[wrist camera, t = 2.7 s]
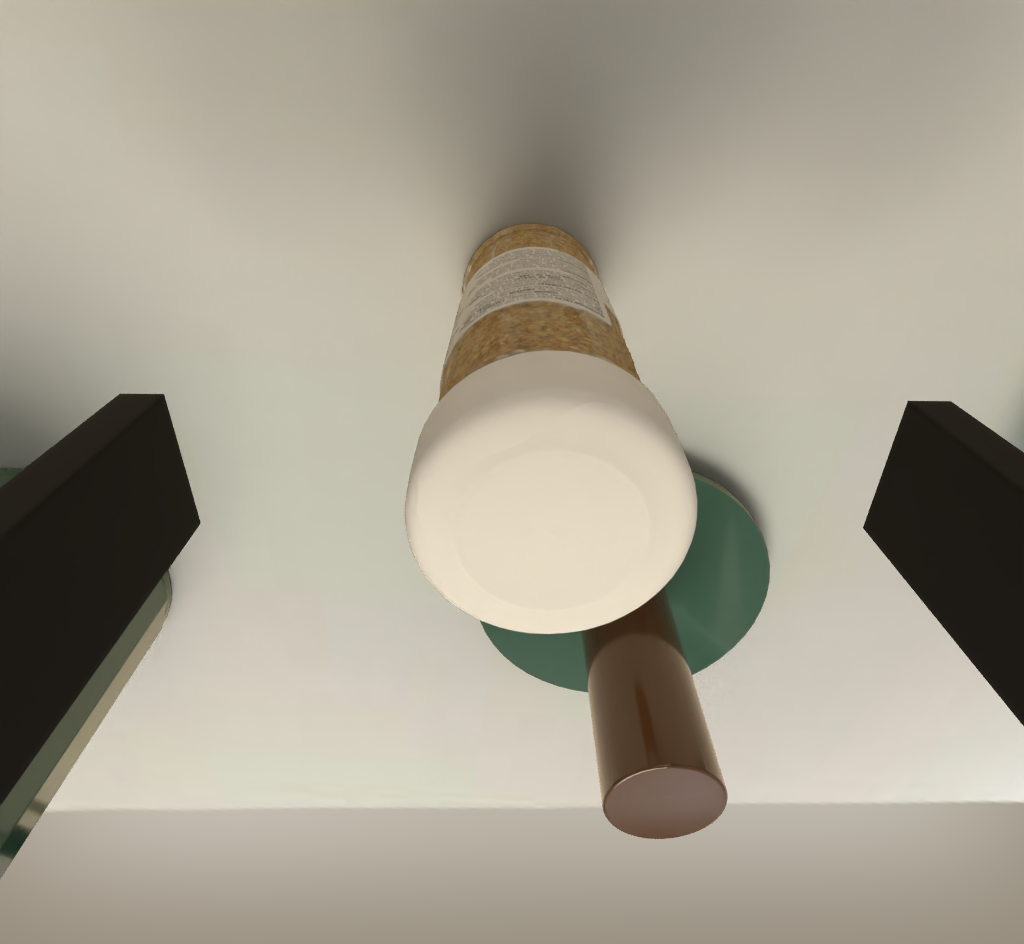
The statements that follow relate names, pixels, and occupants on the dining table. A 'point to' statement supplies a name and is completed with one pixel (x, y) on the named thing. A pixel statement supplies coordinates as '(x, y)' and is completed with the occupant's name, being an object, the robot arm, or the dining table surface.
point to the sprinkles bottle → (545, 451)
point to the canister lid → (660, 673)
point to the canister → (77, 720)
